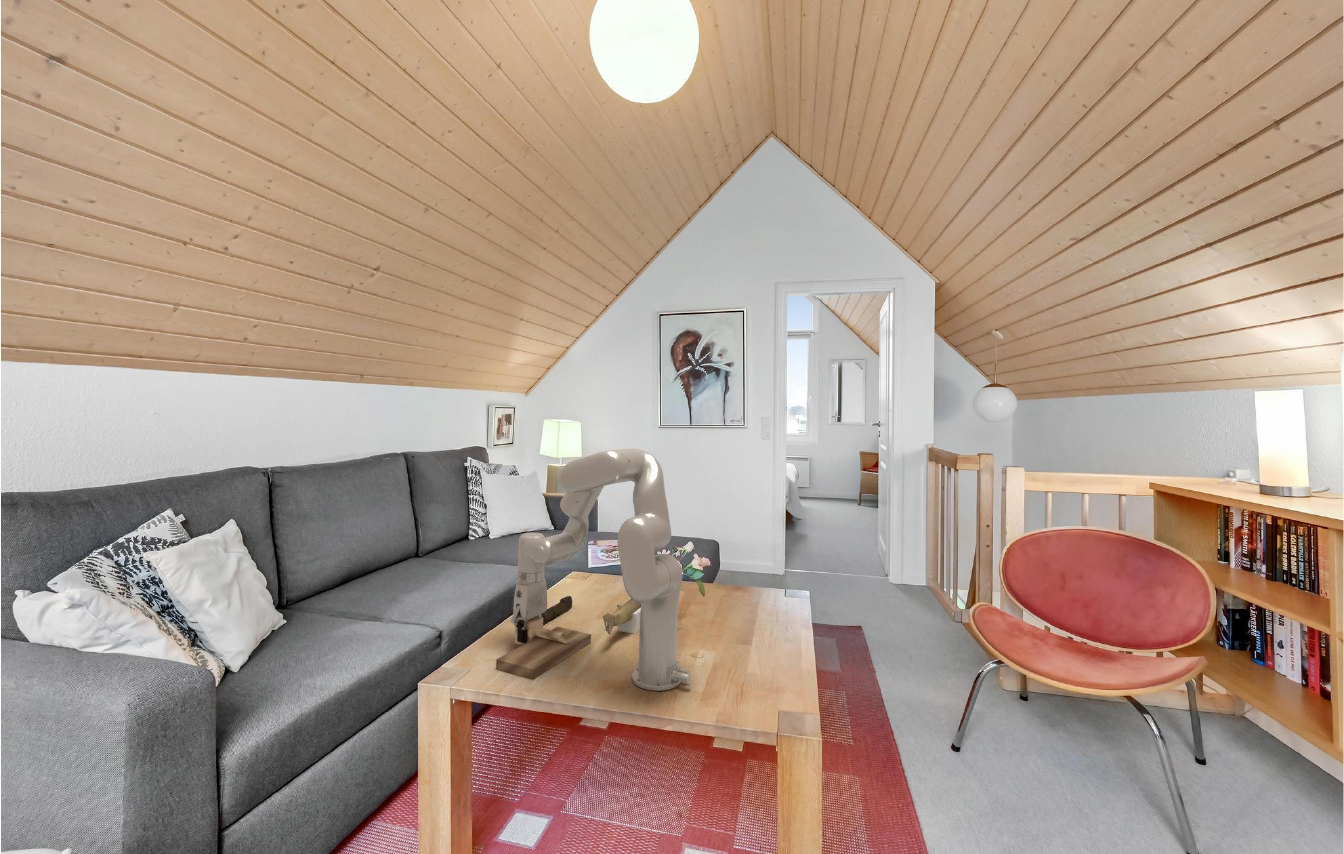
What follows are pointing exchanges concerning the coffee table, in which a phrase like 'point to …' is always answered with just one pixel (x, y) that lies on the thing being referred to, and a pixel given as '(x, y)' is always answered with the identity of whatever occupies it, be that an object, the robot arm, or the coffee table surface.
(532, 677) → the board
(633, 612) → the wood carving
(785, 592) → the coffee table surface
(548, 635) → the beige block with stick
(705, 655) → the coffee table surface
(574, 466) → the robot arm
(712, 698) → the coffee table surface
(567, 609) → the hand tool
